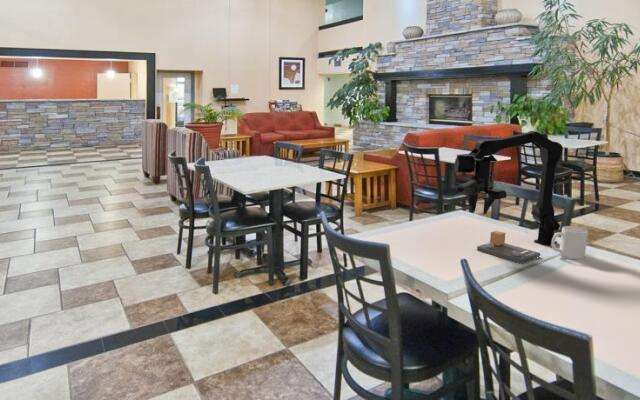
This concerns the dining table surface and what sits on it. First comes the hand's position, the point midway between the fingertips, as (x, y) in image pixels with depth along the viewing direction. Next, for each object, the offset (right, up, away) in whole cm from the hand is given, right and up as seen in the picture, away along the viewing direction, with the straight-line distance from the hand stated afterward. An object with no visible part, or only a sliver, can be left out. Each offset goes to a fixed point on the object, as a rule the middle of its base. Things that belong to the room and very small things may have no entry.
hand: (479, 212), depth 190 cm
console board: (+7, -15, -10) cm, 19 cm away
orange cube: (+5, -12, -5) cm, 14 cm away
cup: (+28, -16, -12) cm, 34 cm away
